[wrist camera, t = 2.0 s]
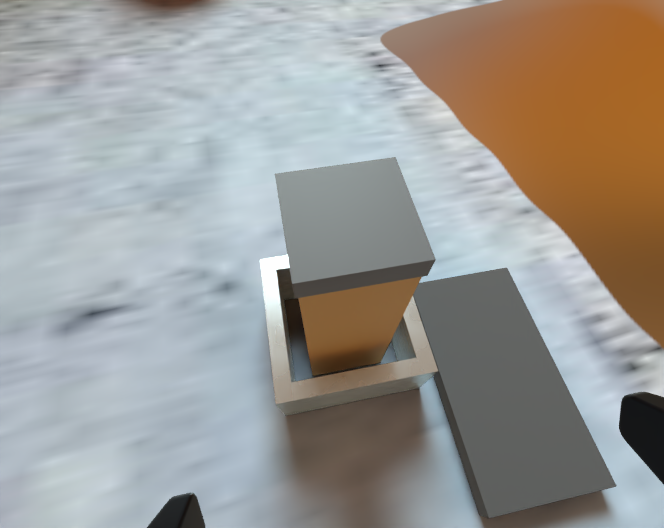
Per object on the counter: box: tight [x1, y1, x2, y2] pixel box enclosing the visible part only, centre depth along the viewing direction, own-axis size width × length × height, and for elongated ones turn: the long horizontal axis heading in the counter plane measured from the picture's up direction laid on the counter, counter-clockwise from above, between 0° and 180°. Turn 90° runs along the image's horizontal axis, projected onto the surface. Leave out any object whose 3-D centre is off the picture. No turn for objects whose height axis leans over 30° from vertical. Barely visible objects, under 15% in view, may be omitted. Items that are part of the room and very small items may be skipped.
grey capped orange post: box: [275, 157, 436, 376], centre depth 16 cm, size 4×4×12 cm
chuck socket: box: [260, 255, 438, 416], centre depth 20 cm, size 8×8×4 cm
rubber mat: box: [413, 268, 616, 518], centre depth 20 cm, size 12×6×1 cm, turn 11°
